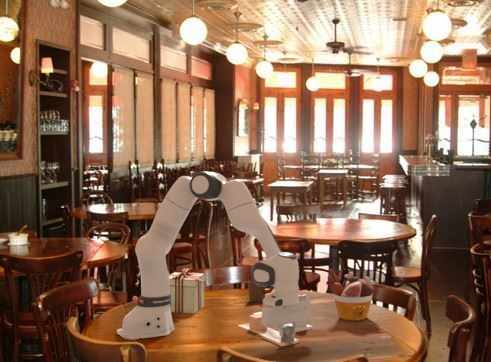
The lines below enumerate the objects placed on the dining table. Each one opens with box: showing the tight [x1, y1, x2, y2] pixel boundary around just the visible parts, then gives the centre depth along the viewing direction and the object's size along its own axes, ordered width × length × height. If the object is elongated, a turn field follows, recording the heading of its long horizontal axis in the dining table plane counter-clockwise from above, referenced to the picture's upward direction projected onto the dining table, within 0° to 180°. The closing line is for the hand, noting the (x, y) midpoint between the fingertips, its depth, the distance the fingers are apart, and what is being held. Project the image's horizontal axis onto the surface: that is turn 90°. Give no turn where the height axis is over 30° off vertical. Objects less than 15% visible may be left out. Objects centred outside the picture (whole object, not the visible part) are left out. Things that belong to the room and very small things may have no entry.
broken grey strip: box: [252, 311, 313, 333], centre depth 271 cm, size 8×30×6 cm, turn 33°
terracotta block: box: [248, 314, 267, 331], centre depth 258 cm, size 5×5×5 cm
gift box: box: [169, 268, 206, 314], centre depth 296 cm, size 17×18×17 cm
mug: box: [248, 279, 275, 304], centre depth 308 cm, size 12×8×9 cm, turn 66°
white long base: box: [237, 322, 301, 347], centre depth 253 cm, size 8×30×6 cm, turn 33°
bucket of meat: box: [327, 268, 376, 322], centre depth 277 cm, size 20×16×20 cm
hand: (287, 335), depth 242 cm, fingers closed on white long base, 3 cm apart
